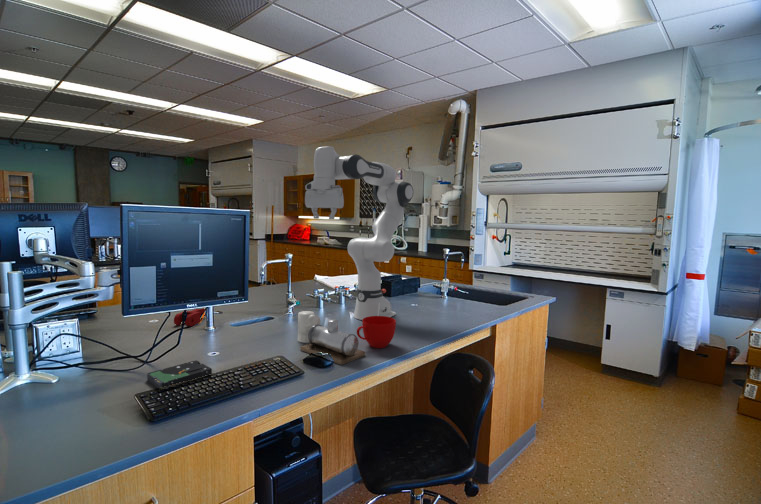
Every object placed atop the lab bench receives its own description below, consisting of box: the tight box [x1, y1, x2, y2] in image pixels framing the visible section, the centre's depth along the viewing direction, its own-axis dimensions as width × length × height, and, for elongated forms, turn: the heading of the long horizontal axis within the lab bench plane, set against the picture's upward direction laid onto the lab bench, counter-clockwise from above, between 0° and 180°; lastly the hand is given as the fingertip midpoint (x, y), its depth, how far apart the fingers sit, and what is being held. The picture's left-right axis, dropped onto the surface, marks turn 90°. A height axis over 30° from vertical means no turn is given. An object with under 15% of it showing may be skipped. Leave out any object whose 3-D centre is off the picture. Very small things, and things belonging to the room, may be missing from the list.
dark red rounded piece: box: [173, 308, 206, 327], centre depth 178 cm, size 16×7×5 cm, turn 171°
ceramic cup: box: [356, 316, 397, 349], centre depth 152 cm, size 13×17×10 cm
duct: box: [300, 318, 366, 366], centre depth 143 cm, size 12×21×12 cm, turn 51°
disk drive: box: [146, 359, 213, 389], centre depth 119 cm, size 10×3×15 cm
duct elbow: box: [297, 310, 321, 344], centre depth 156 cm, size 6×9×11 cm
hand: (323, 219), depth 166 cm, fingers open, 8 cm apart
